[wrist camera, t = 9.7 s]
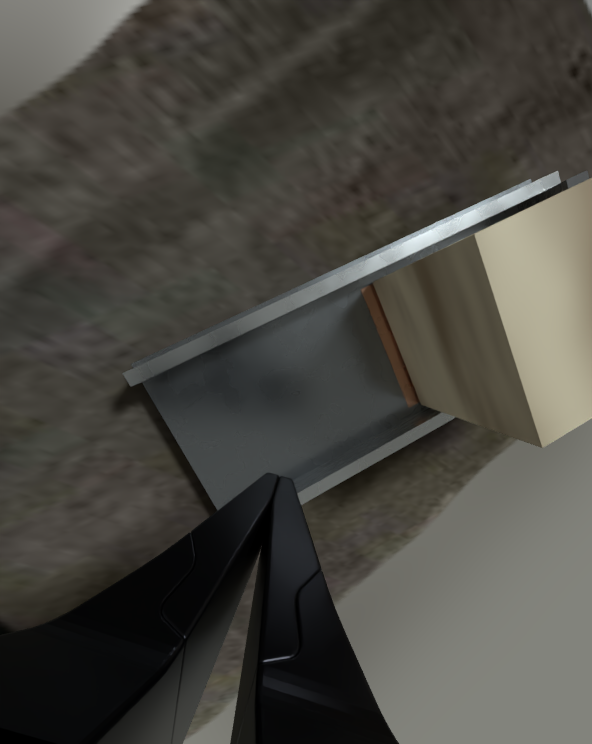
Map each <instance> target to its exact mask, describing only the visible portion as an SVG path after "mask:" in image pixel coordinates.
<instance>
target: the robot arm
mask: <svg viewBox="0 0 592 744" xmlns="http://www.w3.org/2000/svg"><path fill="white" fill-rule="evenodd" d="M261 546H262V547H261ZM260 549H261V552H260ZM259 552H260V557H259V563H258V570H257V576H256V583H255V589H254V595H253V602H252V608H251V615H250V621H249V627H248V634H247V640H246V647H245V653H244V659H243V666H242V672H241V679H240V685H239V691H238V698H237V705H236V711H235V717H234V724H233V730H232V736H231V743H230V744H399V743H398V741H397V740H396V738H395V736H394V735H393V733H392V732H391V730H390V728H389V727H388V725H387V723H386V721H385V719H384V717H383V715H382V713H381V711H380V709H379V707H378V705H377V703H376V700H375V698H374V696H373V694H372V691H371V689H370V687H369V685H368V682H367V680H366V678H365V676H364V673H363V671H362V669H361V667H360V664H359V662H358V660H357V658H356V655H355V653H354V651H353V649H352V647H351V644H350V642H349V640H348V637H347V635H346V633H345V631H344V628H343V626H342V623H341V621H340V619H339V616H338V614H337V611H336V609H335V606H334V604H333V601H332V598H331V595H330V592H329V590H328V587H327V584H326V581H325V578H324V574H323V572H322V571H321V570H322V569H321V566H320V562H319V559H318V556H317V553H316V550H315V547H314V544H313V541H312V538H311V535H310V531H309V528H308V525H307V522H306V519H305V516H304V513H303V510H302V507H301V504H300V500H299V497H298V494H297V491H296V488H295V485H294V482H293V480H292V479H291V478H288V477H284V476H280V478H279V475H277V474H273V473H269V472H267V473H266V474H264V475H263V476H262V477H260V478H259V479H258V480H257V481H255V482H254V483H253V484H251V485H250V486H249V487H248V488H246V489H245V490H244V491H242V492H241V493H240V494H239V495H237V496H236V497H235V498H233V499H232V500H231V501H229V502H228V503H227V504H226V505H224V506H223V507H222V508H220V509H219V510H218V511H217V512H215V513H214V514H213V515H211V516H210V517H209V518H208V519H206V520H205V521H204V522H202V523H201V524H200V525H199V526H197V527H196V528H195V529H193V530H192V531H191V533H188V534H187V535H185V536H184V537H183V538H182V539H180V540H179V541H178V542H176V543H175V544H174V545H172V546H171V547H170V548H168V549H167V550H165V551H164V552H163V553H161V554H160V555H158V556H157V557H155V558H154V559H152V560H151V561H149V562H148V563H146V564H145V565H143V566H142V567H140V568H139V569H137V570H135V571H134V572H132V573H131V574H129V575H128V576H126V577H124V578H123V579H121V580H120V581H118V582H116V583H115V584H113V585H112V586H110V587H108V588H107V589H105V590H104V591H102V592H100V593H99V594H97V595H96V596H94V597H92V598H91V599H89V600H88V601H86V602H84V603H83V604H81V605H80V606H78V607H76V608H74V609H73V610H71V611H69V612H68V613H66V614H64V615H62V616H60V617H58V618H56V619H54V620H51V621H49V622H47V623H44V624H41V625H39V626H36V627H33V628H29V629H25V630H20V631H16V632H11V633H7V634H3V635H0V744H183V741H184V739H185V736H186V734H187V731H188V729H189V727H190V724H191V722H192V719H193V717H194V714H195V712H196V709H197V707H198V704H199V702H200V699H201V697H202V694H203V692H204V689H205V687H206V684H207V682H208V679H209V677H210V674H211V672H212V669H213V667H214V664H215V662H216V660H217V657H218V655H219V652H220V650H221V647H222V645H223V642H224V640H225V637H226V635H227V632H228V630H229V627H230V625H231V622H232V620H233V617H234V615H235V612H236V610H237V607H238V605H239V602H240V600H241V598H242V595H243V593H244V590H245V588H246V585H247V583H248V580H249V578H250V575H251V573H252V570H253V568H254V565H255V563H256V560H257V558H258V555H259Z"/></svg>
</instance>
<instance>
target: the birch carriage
mask: <svg viewBox="0 0 592 744" xmlns="http://www.w3.org/2000/svg"><path fill="white" fill-rule="evenodd" d="M373 285H374V287H375V290H376V292H377V295H378V297H379V300H380V302H381V305H382V307H383V310H384V312H385V315H386V317H387V320H388V322H389V325H390V327H391V330H392V333H393V335H394V338H395V340H396V343H397V345H398V348H399V350H400V353H401V355H402V358H403V360H404V363H405V365H406V368H407V370H408V373H409V375H410V378H411V380H412V383H413V385H414V388H415V390H416V393H417V395H418V398H419V400H420V403H421V405H423V406H426V407H429V408H432V409H435V410H437V411H440V412H443V413H446V414H449V415H451V416H454V417H457V418H460V419H463V420H465V421H468V422H471V423H474V424H477V425H479V426H482V427H485V428H488V429H491V430H493V431H496V432H499V433H502V434H505V435H507V436H510V437H513V438H516V439H519V440H521V441H524V442H527V443H530V444H533V445H535V446H538V447H541V448H543V447H545V446H547V445H548V444H550V443H552V442H553V441H555V440H557V439H558V438H560V437H561V436H563V435H565V434H567V433H568V432H570V431H571V430H573V429H575V428H576V427H578V426H580V425H581V424H583V423H585V422H586V421H588V420H590V419H591V418H592V178H590V179H588V180H586V181H584V182H582V183H579V184H577V185H575V186H573V187H571V188H569V189H567V190H565V191H563V192H560V193H558V194H556V195H554V196H552V197H550V198H548V199H546V200H544V201H542V202H539V203H537V204H535V205H533V206H531V207H529V208H527V209H525V210H523V211H520V212H518V213H516V214H514V215H512V216H510V217H508V218H506V219H504V220H501V221H499V222H497V223H495V224H493V225H491V226H489V227H487V228H485V229H483V230H480V231H478V232H476V233H474V234H472V235H470V236H468V237H466V238H464V239H462V240H460V241H457V242H455V243H453V244H451V245H449V246H447V247H445V248H443V249H441V250H439V251H436V252H434V253H432V254H430V255H428V256H426V257H424V258H422V259H420V260H418V261H416V262H413V263H411V264H409V265H407V266H405V267H403V268H401V269H399V270H397V271H395V272H393V273H390V274H388V275H386V276H384V277H382V278H380V279H378V280H376V281H374V282H373Z"/></svg>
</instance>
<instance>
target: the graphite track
mask: <svg viewBox="0 0 592 744" xmlns="http://www.w3.org/2000/svg"><path fill="white" fill-rule="evenodd" d="M588 179H589V176H588V172H587V171H584V172H582V173H580V174H578V175H576V176H574V177H572V178H570V179H568V180H566V181H564V182H562V183H561V182H560V178H559V174H558V171H556V172H554V173H552V174H550V175H548V176H545V177H543V178H541V179H539V180H537V181H535V182H533V183H532V182H531V179H529V180H527V181H525V182H523V183H521V184H519V185H517V186H514V187H512V188H510V189H508V190H506V191H504V192H501V193H499V194H497V195H495V196H493V197H491V198H488V199H486V200H484V201H482V202H480V203H478V204H475V205H473V206H471V207H469V208H467V209H465V210H463V211H460V212H458V213H456V214H454V215H452V216H450V217H447V218H445V219H443V220H441V221H439V222H437V223H434V224H432V225H430V226H428V227H426V228H424V229H422V230H419V231H417V232H415V233H413V234H411V235H409V236H406V237H404V238H402V239H400V240H398V241H396V242H393V243H391V244H389V245H387V246H385V247H383V248H380V249H378V250H376V251H374V252H372V253H370V254H368V255H365V256H363V257H361V258H359V259H357V260H355V261H352V262H350V263H348V264H346V265H344V266H342V267H339V268H337V269H335V270H333V271H331V272H329V273H326V274H324V275H322V276H320V277H318V278H316V279H314V280H311V281H309V282H307V283H305V284H303V285H301V286H298V287H296V288H294V289H292V290H290V291H288V292H285V293H283V294H281V295H279V296H277V297H275V298H273V299H270V300H268V301H266V302H264V303H262V304H260V305H257V306H255V307H253V308H251V309H249V310H247V311H244V312H242V313H240V314H238V315H236V316H234V317H231V318H229V319H227V320H225V321H223V322H221V323H219V324H216V325H214V326H212V327H210V328H208V329H206V330H203V331H201V332H199V333H197V334H195V335H193V336H190V337H188V338H186V339H184V340H182V341H180V342H177V343H175V344H173V345H171V346H169V347H167V348H165V349H162V350H160V351H158V352H156V353H154V354H152V355H149V356H147V357H145V358H143V359H141V360H139V361H136V362H134V363H132V364H131V365H132V367H133V369H131V370H129V371H127V372H124V373H123V375H124V377H125V378H126V380H127V382H128V383H129V385H130V387H132V386H134V385H137V384H139V383H142V384H143V385H144V387H145V389H146V390H147V392H148V394H149V395H150V397H151V399H152V400H153V402H154V404H155V405H156V407H157V409H158V411H159V412H160V414H161V416H162V417H163V419H164V421H165V422H166V424H167V426H168V427H169V429H170V431H171V433H172V434H173V436H174V438H175V439H176V441H177V443H178V444H179V446H180V448H181V449H182V451H183V453H184V455H185V456H186V458H187V460H188V461H189V463H190V465H191V466H192V468H193V470H194V471H195V473H196V475H197V477H198V478H199V480H200V482H201V483H202V485H203V487H204V488H205V490H206V492H207V493H208V495H209V497H210V499H211V500H212V502H213V504H214V505H215V507H216V509H217V510H219V509H220V508H222V507H223V506H224V505H226V504H227V503H228V502H229V501H231V500H232V499H233V498H235V497H236V496H237V495H239V494H240V493H241V492H242V491H244V490H245V489H246V488H248V487H249V486H250V485H251V484H253V483H254V482H255V481H257V480H258V479H259V478H260V477H262V476H263V475H264V474H266V473H267V472H269V473H273V474H277V475H279V478H280V476H284V477H288V478H291V479H292V480H293V482H294V485H295V488H296V491H297V494H298V497H299V500H300V504H301V505H302V504H304V503H306V502H307V501H309V500H311V499H313V498H314V497H316V496H318V495H320V494H321V493H323V492H325V491H327V490H329V489H330V488H332V487H334V486H336V485H337V484H339V483H341V482H343V481H344V480H346V479H348V478H350V477H352V476H353V475H355V474H357V473H359V472H360V471H362V470H364V469H366V468H367V467H369V466H371V465H373V464H375V463H376V462H378V461H380V460H382V459H383V458H385V457H387V456H389V455H390V454H392V453H394V452H396V451H398V450H399V449H401V448H403V447H405V446H406V445H408V444H410V443H412V442H413V441H415V440H417V439H419V438H421V437H422V436H424V435H426V434H428V433H429V432H431V431H433V430H435V429H436V428H438V427H440V426H442V425H444V424H445V423H447V422H449V421H451V420H452V419H454V418H456V417H454V416H451V415H449V414H446V413H443V412H440V411H437V410H435V409H432V408H429V407H426V406H423V405H421V403H420V400H419V398H418V395H417V393H416V390H415V388H414V385H413V383H412V380H411V378H410V375H409V373H408V370H407V368H406V365H405V363H404V360H403V358H402V355H401V353H400V350H399V348H398V345H397V343H396V340H395V338H394V335H393V333H392V330H391V327H390V325H389V322H388V320H387V317H386V315H385V312H384V310H383V307H382V305H381V302H380V300H379V297H378V295H377V292H376V290H375V287H374V285H373V282H374V281H376V280H378V279H380V278H382V277H384V276H386V275H388V274H390V273H393V272H395V271H397V270H399V269H401V268H403V267H405V266H407V265H409V264H411V263H413V262H416V261H418V260H420V259H422V258H424V257H426V256H428V255H430V254H432V253H434V252H436V251H439V250H441V249H443V248H445V247H447V246H449V245H451V244H453V243H455V242H457V241H460V240H462V239H464V238H466V237H468V236H470V235H472V234H474V233H476V232H478V231H480V230H483V229H485V228H487V227H489V226H491V225H493V224H495V223H497V222H499V221H501V220H504V219H506V218H508V217H510V216H512V215H514V214H516V213H518V212H520V211H523V210H525V209H527V208H529V207H531V206H533V205H535V204H537V203H539V202H542V201H544V200H546V199H548V198H550V197H552V196H554V195H556V194H558V193H560V192H563V191H565V190H567V189H569V188H571V187H573V186H575V185H577V184H579V183H582V182H584V181H586V180H588Z"/></svg>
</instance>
